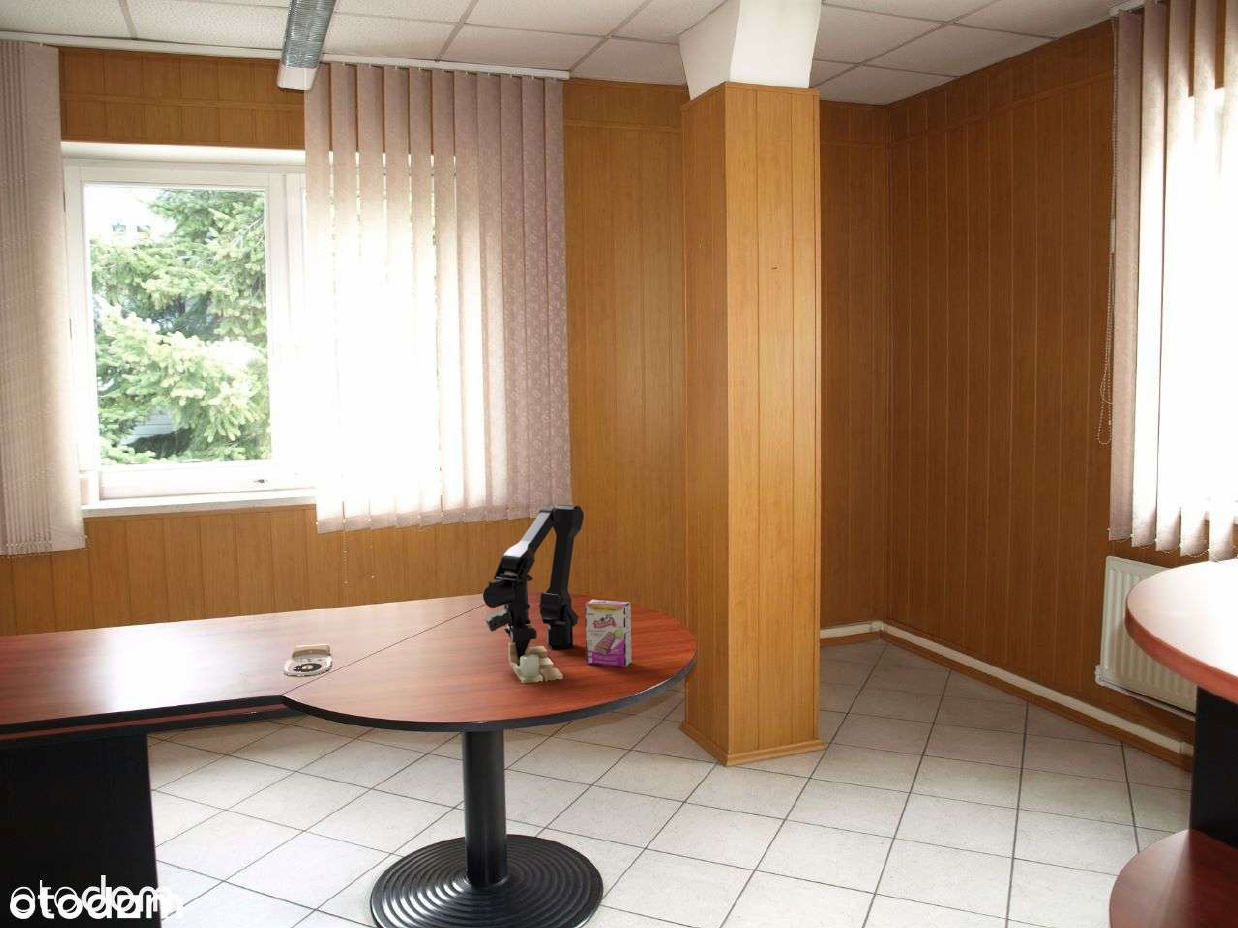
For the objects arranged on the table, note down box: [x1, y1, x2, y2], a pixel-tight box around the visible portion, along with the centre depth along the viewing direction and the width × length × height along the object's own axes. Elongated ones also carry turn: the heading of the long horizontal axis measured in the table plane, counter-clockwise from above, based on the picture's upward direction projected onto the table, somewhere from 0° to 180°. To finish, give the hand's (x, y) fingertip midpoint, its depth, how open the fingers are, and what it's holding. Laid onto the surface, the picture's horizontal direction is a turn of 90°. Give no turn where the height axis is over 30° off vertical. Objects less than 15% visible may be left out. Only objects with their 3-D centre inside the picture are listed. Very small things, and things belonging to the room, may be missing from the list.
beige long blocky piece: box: [507, 641, 544, 684], centre depth 269 cm, size 5×19×6 cm, turn 16°
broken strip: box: [529, 645, 564, 682], centre depth 272 cm, size 4×23×2 cm, turn 16°
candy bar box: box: [584, 599, 632, 668], centre depth 273 cm, size 11×5×16 cm, turn 71°
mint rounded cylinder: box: [519, 655, 540, 678], centre depth 263 cm, size 5×5×4 cm
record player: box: [283, 643, 332, 676], centre depth 279 cm, size 12×3×20 cm
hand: (519, 657), depth 277 cm, fingers closed on beige long blocky piece, 2 cm apart
